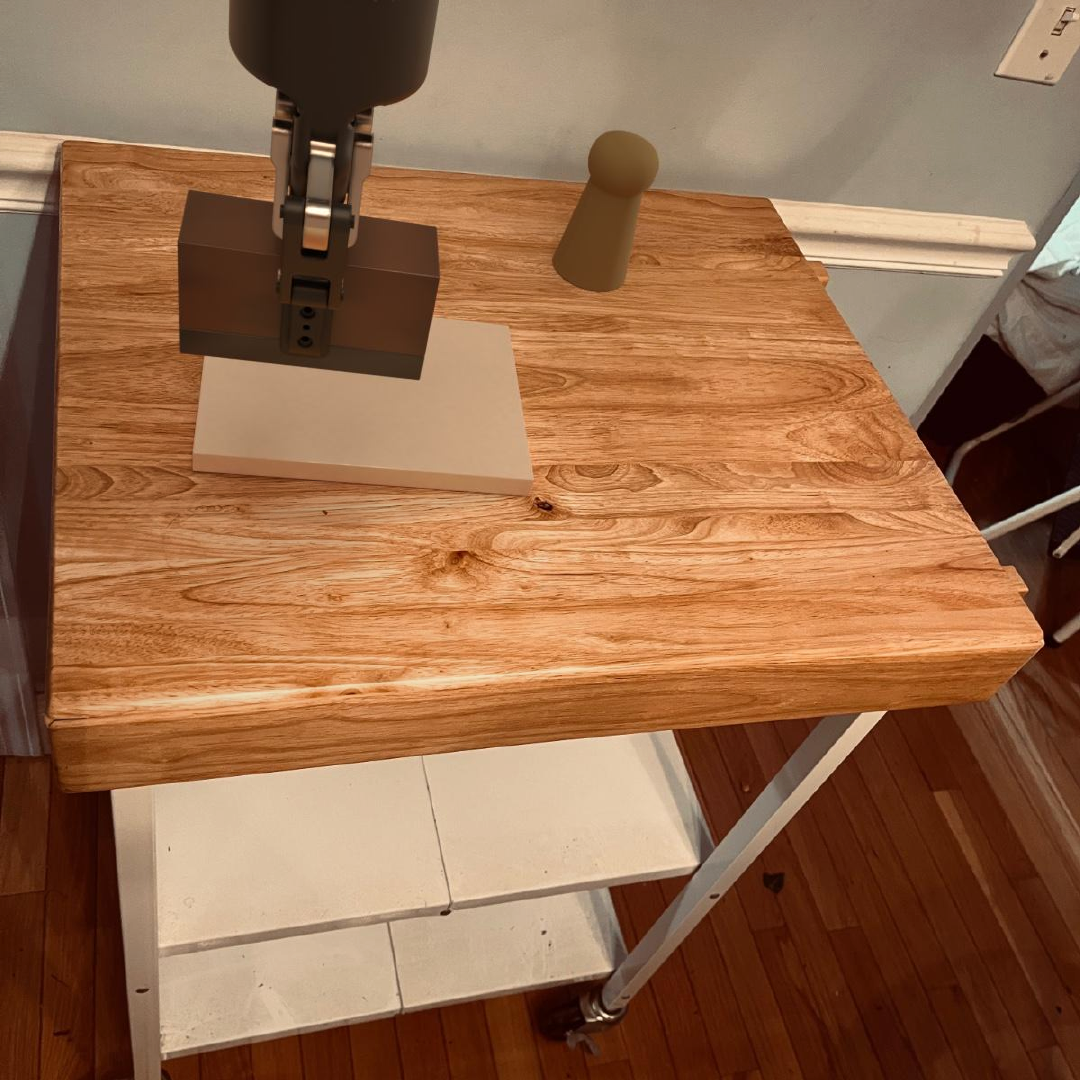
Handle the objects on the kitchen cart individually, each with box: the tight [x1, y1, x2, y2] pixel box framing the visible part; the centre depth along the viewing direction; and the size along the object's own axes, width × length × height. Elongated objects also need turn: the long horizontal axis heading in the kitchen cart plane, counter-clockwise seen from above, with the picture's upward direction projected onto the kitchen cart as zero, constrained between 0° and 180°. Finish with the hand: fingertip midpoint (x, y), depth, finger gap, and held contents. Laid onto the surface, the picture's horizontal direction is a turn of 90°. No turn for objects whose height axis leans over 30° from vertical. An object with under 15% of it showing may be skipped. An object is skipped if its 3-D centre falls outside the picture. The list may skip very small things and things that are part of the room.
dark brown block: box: [176, 189, 441, 380], centre depth 49 cm, size 11×4×6 cm, turn 97°
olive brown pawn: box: [552, 129, 660, 293], centre depth 81 cm, size 6×6×11 cm
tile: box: [191, 316, 535, 497], centre depth 68 cm, size 20×15×2 cm
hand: (306, 318), depth 50 cm, fingers closed on dark brown block, 4 cm apart
